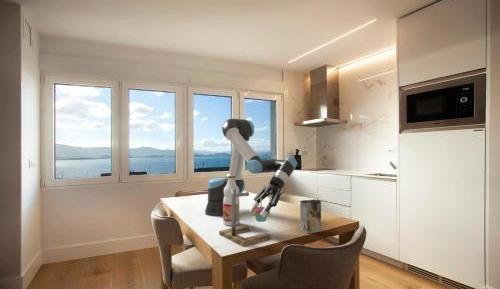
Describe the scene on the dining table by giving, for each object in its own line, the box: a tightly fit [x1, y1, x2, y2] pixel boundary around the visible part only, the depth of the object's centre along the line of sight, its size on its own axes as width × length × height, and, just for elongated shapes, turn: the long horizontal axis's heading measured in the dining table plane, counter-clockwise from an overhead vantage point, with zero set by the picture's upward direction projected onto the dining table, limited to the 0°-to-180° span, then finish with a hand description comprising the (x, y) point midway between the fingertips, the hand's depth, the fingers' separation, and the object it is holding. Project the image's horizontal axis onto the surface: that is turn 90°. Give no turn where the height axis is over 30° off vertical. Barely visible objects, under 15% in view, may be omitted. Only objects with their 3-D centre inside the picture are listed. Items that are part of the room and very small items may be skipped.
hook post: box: [231, 189, 250, 236], centre depth 133 cm, size 2×10×22 cm, turn 128°
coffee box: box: [299, 199, 322, 234], centre depth 144 cm, size 9×6×16 cm
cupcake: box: [253, 198, 270, 223], centre depth 140 cm, size 9×8×12 cm
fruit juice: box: [222, 175, 240, 227], centre depth 158 cm, size 9×9×28 cm
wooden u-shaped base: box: [218, 224, 272, 247], centre depth 135 cm, size 20×17×2 cm
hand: (256, 214), depth 138 cm, fingers closed on cupcake, 8 cm apart
